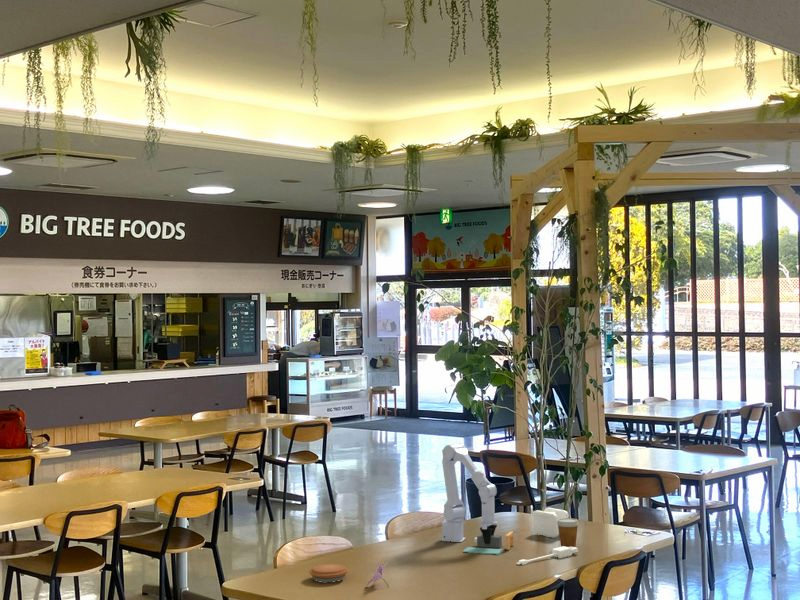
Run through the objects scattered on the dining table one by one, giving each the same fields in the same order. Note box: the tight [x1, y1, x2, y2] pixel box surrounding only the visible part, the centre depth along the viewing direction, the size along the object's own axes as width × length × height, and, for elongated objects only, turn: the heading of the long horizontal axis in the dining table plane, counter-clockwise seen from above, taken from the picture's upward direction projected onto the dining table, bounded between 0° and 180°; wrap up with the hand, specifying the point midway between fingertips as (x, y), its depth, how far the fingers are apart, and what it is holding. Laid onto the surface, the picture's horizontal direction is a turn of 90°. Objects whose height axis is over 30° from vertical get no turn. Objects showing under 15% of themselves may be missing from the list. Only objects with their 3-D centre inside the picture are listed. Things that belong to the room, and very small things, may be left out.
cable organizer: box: [531, 507, 570, 539], centre depth 447 cm, size 15×11×12 cm
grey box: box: [473, 533, 503, 549], centre depth 426 cm, size 12×5×5 cm, turn 71°
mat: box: [462, 546, 504, 556], centre depth 416 cm, size 16×8×1 cm, turn 70°
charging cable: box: [515, 546, 579, 566], centre depth 401 cm, size 5×32×3 cm, turn 124°
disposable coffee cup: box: [557, 518, 580, 548], centre depth 422 cm, size 10×10×12 cm
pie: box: [308, 563, 349, 582], centre depth 375 cm, size 16×16×5 cm
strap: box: [505, 531, 515, 550], centre depth 423 cm, size 2×9×6 cm, turn 160°
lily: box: [365, 561, 390, 588], centre depth 363 cm, size 12×12×10 cm
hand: (488, 542), depth 426 cm, fingers closed on grey box, 5 cm apart
